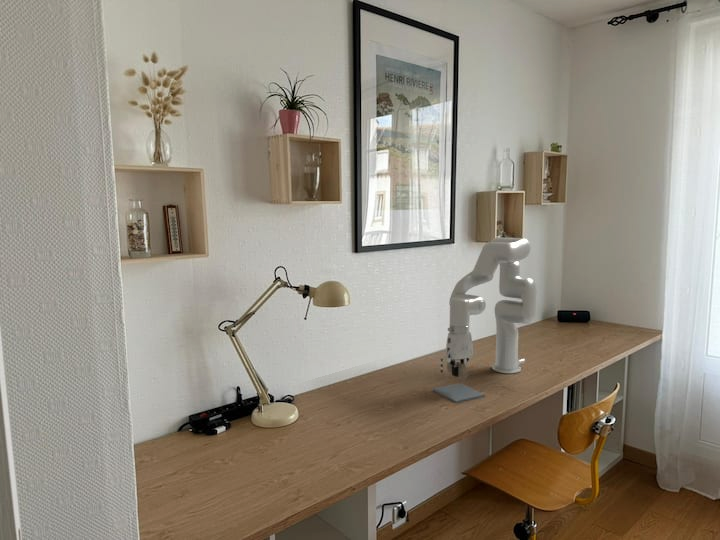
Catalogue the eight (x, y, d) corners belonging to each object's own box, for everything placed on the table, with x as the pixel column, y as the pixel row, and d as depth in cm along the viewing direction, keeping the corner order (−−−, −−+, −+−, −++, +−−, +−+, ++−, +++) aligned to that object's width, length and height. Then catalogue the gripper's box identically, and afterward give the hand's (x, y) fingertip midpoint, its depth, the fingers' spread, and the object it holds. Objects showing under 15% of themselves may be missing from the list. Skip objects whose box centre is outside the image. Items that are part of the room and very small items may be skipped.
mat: (460, 384, 209) (460, 382, 209) (484, 396, 196) (485, 394, 196) (432, 390, 202) (432, 388, 202) (456, 403, 189) (456, 401, 189)
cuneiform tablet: (440, 358, 203) (460, 365, 193) (448, 356, 205) (467, 364, 195) (440, 372, 204) (459, 380, 193) (448, 370, 206) (467, 379, 195)
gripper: (448, 333, 189) (447, 381, 191) (481, 329, 197) (480, 374, 199) (436, 329, 196) (435, 375, 198) (469, 325, 203) (468, 369, 205)
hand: (458, 374), depth 198 cm, fingers closed on cuneiform tablet, 2 cm apart
